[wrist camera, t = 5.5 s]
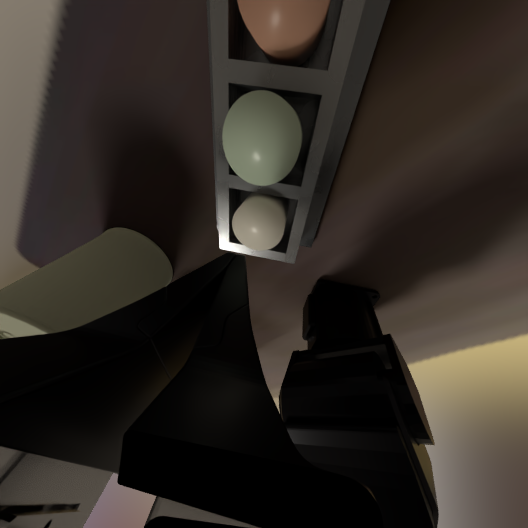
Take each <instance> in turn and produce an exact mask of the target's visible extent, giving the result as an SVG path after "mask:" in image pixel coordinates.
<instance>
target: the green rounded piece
mask: <svg viewBox="0 0 528 528" xmlns="http://www.w3.org/2000/svg"><path fill="white" fill-rule="evenodd" d="M222 139H223V148H224V152H225V156H226V158H227V161H228V163H229V164H230V166H231V168H232V169H233V170H234V172H235V173H236V174H237V175H238V176H239V177H240V178H242V179H243V180H245V181H246V182H248V183H251V184H254V185H259V186H266V185H271V184H274V183H277V182H279V181H280V180H282V179H283V178H284V177H285V176H287V175H288V173H289V172H290V171H291V170H292V168H293V167H294V165H295V163H296V161H297V158H298V155H299V152H300V148H301V145H302V139H303V131H302V125H301V121H300V119H299V116H298V114H297V113H296V111H295V110H294V109H293V108H292V107H291V106H290V105H289V104H288V103H287V102H286V101H285V100H284V99H283V98H282V97H280V96H279V95H277V94H275V93H273V92H270V91H265V90H257V91H252V92H249V93H247V94H245V95H243V96H242V97H240V98H239V99H238V100H237V101H236V102H235V103H234V104H233V105H232V107H231V108H230V110H229V112H228V114H227V116H226V119H225V122H224V126H223V135H222Z"/></svg>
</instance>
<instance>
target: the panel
mask: <svg viewBox="0 0 528 528" xmlns="http://www.w3.org/2000/svg"><path fill="white" fill-rule="evenodd" d="M389 3H390V0H330V6H329V11H328V17H327V22H326V26H325V30H324V33H323V36H322V38H321V40H320V42H319V44H318V46H317V48H316V49H315V51H314V52H313V54H312V55H311V56H310V57H309V58H308V59H307V60H306V61H305V62H304V63H302V64H301V65H299V66H297V67H293V66H284V65H276V64H272V63H271V62H270V61H269V60H268V59H267V58H266V56H265V55H264V53H263V52H262V50H261V49H260V47H259V45H258V44H257V42H256V41H255V39H254V38H253V36H252V34H251V33H250V31H249V30H248V28H247V26H246V25H245V22H244V20H243V18H242V15H241V13H240V10H239V6H238V2H237V0H207V19H208V41H209V62H210V84H211V105H212V127H213V148H214V170H215V191H216V213H217V229H219V245H220V249H224V250H229V251H234V252H239V253H244V254H249V255H253V256H258V257H263V258H268V259H273V260H278V261H283V262H288V263H293V264H294V262H295V259H296V255H297V251H298V248H299V245H301V246H306V247H311V246H312V243H313V240H314V237H315V234H316V231H317V228H318V225H319V221H320V218H321V215H322V212H323V209H324V206H325V203H326V200H327V196H328V193H329V190H330V187H331V184H332V181H333V178H334V175H335V172H336V168H337V165H338V162H339V159H340V156H341V153H342V150H343V147H344V143H345V140H346V137H347V134H348V131H349V128H350V125H351V122H352V119H353V115H354V112H355V109H356V106H357V103H358V100H359V97H360V94H361V90H362V87H363V84H364V81H365V78H366V75H367V72H368V69H369V66H370V62H371V59H372V56H373V53H374V50H375V47H376V44H377V41H378V37H379V34H380V31H381V28H382V25H383V22H384V19H385V16H386V13H387V9H388V6H389ZM257 90H265V91H270V92H273V93H275V94H277V95H279V96H280V97H282V98H283V99H284V100H285V101H286V102H287V103H288V104H289V105H290V106H291V107H292V108H293V109H294V110H295V111H296V113H297V114H298V116H299V119H300V121H301V125H302V131H303V139H302V145H301V148H300V152H299V155H298V158H297V161H296V163H295V165H294V167H293V168H292V170H291V171H290V172H289V173H288V175H287V176H285V177H284V178H283V179H282V180H280V181H279V182H277V183H274V184H271V185H266V186H259V185H254V184H251V183H248V182H246V181H245V180H243V179H242V178H240V177H239V176H238V175H237V174H236V173H235V172H234V170H233V169H232V168H231V166H230V164H229V163H228V161H227V158H226V156H225V152H224V148H223V139H222V135H223V126H224V122H225V119H226V116H227V114H228V112H229V110H230V108H231V107H232V105H233V104H234V103H235V102H236V101H237V100H238V99H239V98H240V97H242V96H243V95H245V94H247V93H249V92H252V91H257ZM251 192H256V193H262V194H268V195H273V196H279V197H285V199H286V201H287V204H288V215H287V220H286V224H285V229H284V233H283V237H282V239H281V240H280V242H279V243H278V244H277V245H276V246H275V247H273V248H271V249H268V250H263V251H258V250H253V249H250V248H248V247H246V246H245V245H243V244H242V243H241V242H240V241H239V240H238V239H237V237H236V236H235V234H234V231H233V228H232V219H233V216H234V214H235V212H236V211H237V209H238V208H239V207H240V206H241V204H242V203H243V202H244V201H245V199H246V198H247V197H248V196H249V195H250V193H251Z"/></svg>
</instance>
